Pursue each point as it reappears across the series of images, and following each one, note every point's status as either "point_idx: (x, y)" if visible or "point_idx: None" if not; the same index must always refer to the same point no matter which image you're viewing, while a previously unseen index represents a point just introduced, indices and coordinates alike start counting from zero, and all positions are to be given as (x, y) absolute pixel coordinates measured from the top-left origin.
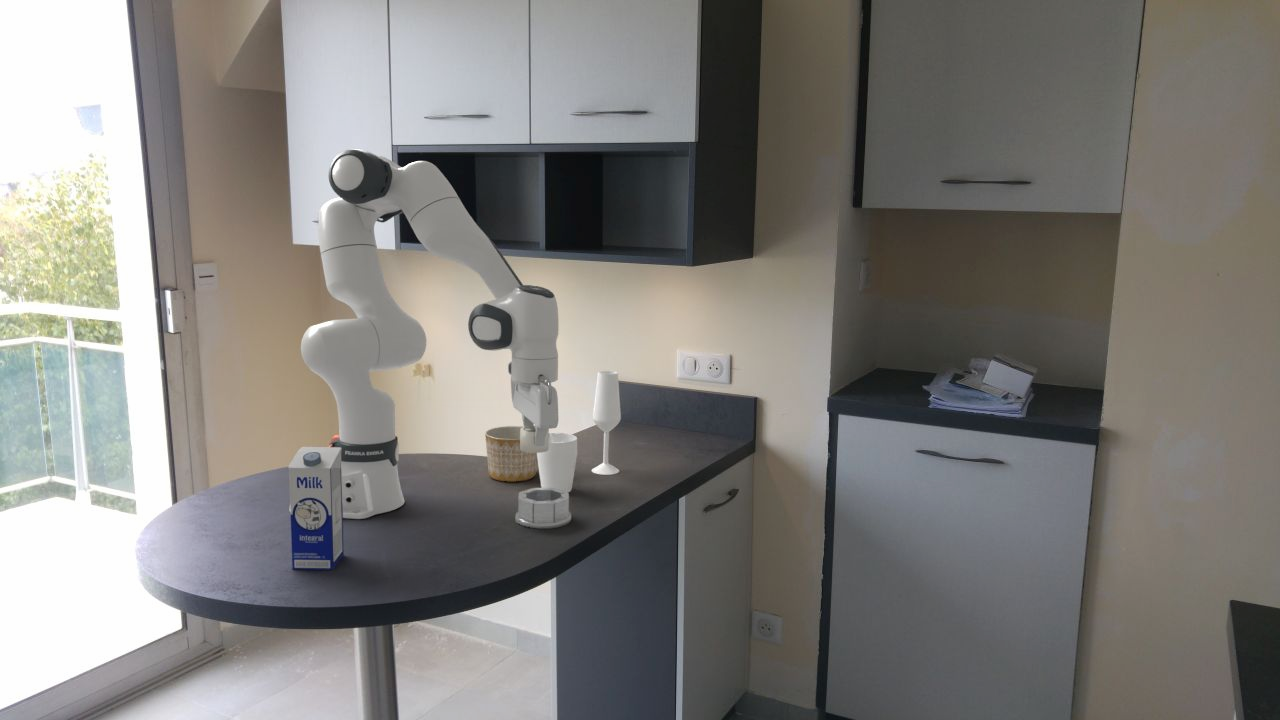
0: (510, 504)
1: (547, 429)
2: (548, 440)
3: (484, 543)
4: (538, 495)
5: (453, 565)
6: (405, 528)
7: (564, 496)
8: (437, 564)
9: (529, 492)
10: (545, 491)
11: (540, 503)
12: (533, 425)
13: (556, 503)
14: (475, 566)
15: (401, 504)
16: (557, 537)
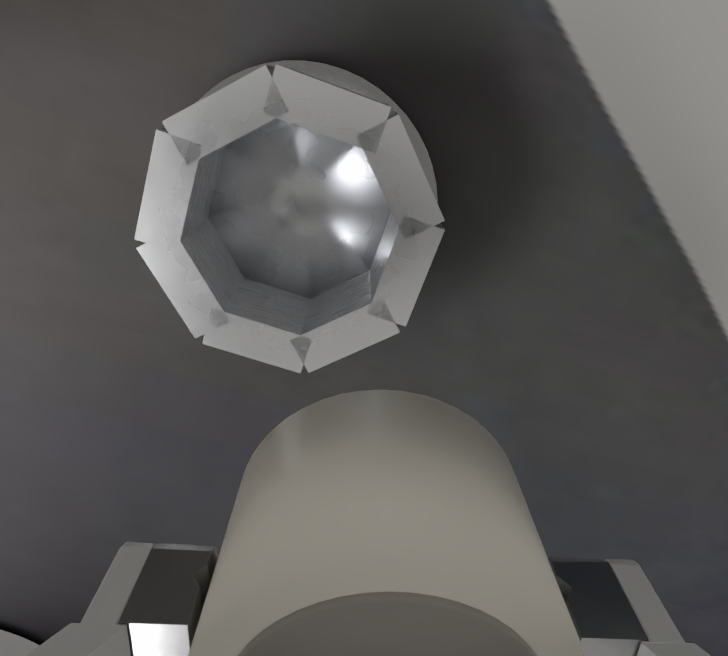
0: (53, 282)
1: (472, 585)
2: (470, 469)
3: None
4: (190, 222)
5: None
6: None
7: (348, 121)
8: None
9: (210, 289)
10: (193, 188)
11: (417, 296)
12: (99, 647)
13: (438, 209)
14: (653, 552)
15: (19, 641)
16: (546, 226)
